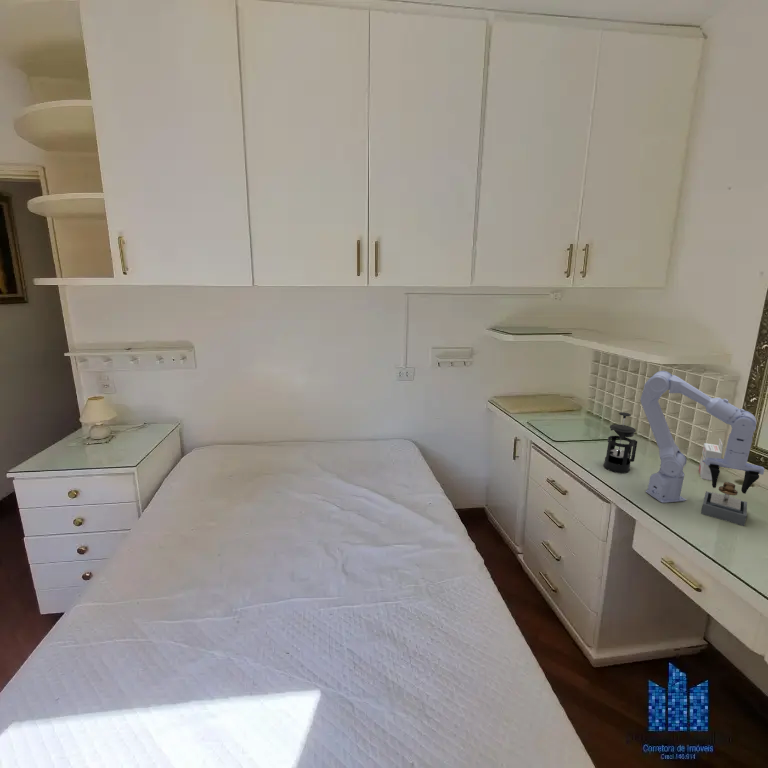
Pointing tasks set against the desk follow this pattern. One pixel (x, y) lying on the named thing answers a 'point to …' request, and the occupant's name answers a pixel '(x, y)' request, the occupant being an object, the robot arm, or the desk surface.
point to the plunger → (726, 497)
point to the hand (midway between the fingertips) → (728, 489)
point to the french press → (619, 455)
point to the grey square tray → (724, 511)
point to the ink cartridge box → (709, 452)
